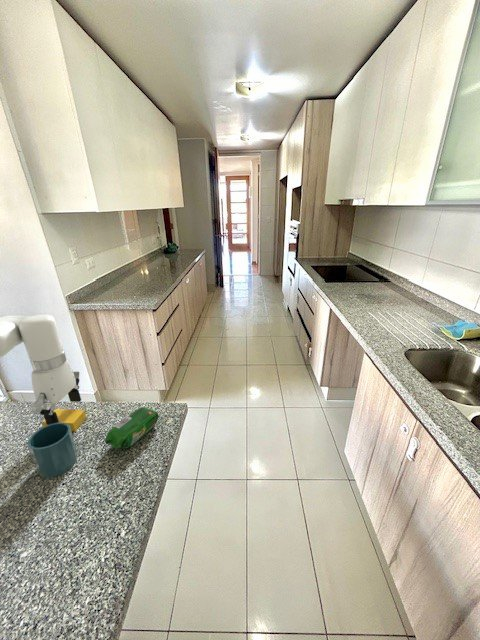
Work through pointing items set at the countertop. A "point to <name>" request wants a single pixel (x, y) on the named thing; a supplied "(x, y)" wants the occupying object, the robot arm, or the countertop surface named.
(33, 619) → the countertop surface
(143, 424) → the snack package
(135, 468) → the countertop surface
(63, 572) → the countertop surface
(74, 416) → the yellow flat block
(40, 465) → the cup
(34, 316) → the robot arm
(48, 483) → the countertop surface
